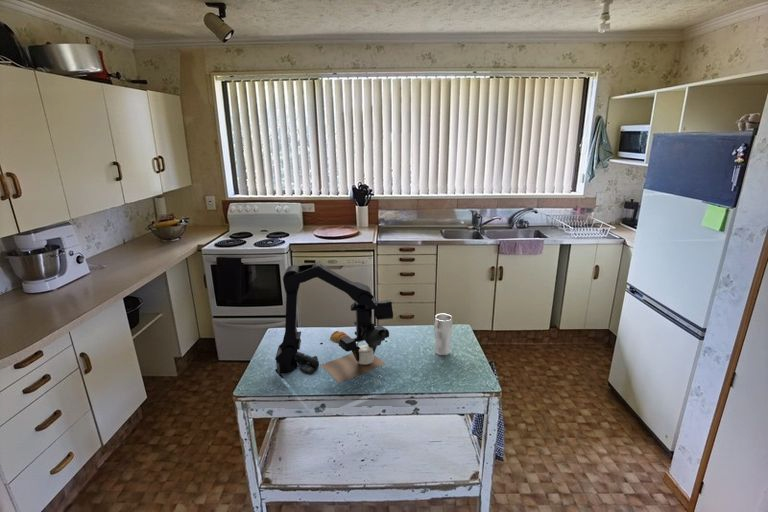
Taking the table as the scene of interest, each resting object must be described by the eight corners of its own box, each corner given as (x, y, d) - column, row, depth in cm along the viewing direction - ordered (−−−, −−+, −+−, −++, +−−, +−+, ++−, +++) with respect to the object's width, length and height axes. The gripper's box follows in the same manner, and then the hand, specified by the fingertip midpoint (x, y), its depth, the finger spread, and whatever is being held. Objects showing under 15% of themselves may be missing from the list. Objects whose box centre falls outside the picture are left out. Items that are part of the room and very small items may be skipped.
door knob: (363, 369, 143) (363, 359, 142) (358, 365, 146) (358, 355, 145) (372, 366, 145) (371, 356, 144) (366, 362, 148) (366, 352, 147)
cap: (353, 359, 145) (353, 348, 144) (367, 353, 149) (367, 343, 147) (362, 366, 141) (362, 355, 139) (376, 360, 144) (376, 349, 143)
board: (339, 386, 134) (339, 382, 133) (320, 367, 144) (320, 364, 144) (386, 366, 145) (386, 363, 145) (365, 350, 156) (365, 348, 155)
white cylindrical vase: (454, 354, 153) (456, 319, 148) (438, 357, 150) (440, 322, 146) (445, 345, 159) (446, 312, 155) (430, 349, 156) (431, 315, 152)
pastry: (355, 343, 162) (355, 334, 161) (343, 349, 158) (343, 341, 156) (340, 336, 168) (339, 328, 167) (328, 342, 164) (327, 333, 162)
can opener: (324, 370, 143) (323, 357, 141) (309, 379, 138) (308, 365, 137) (295, 353, 155) (294, 341, 153) (280, 361, 150) (279, 348, 148)
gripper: (353, 336, 129) (355, 377, 133) (398, 320, 139) (398, 359, 144) (337, 324, 137) (338, 363, 142) (380, 310, 148) (380, 347, 152)
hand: (365, 358), depth 144 cm, fingers open, 6 cm apart
